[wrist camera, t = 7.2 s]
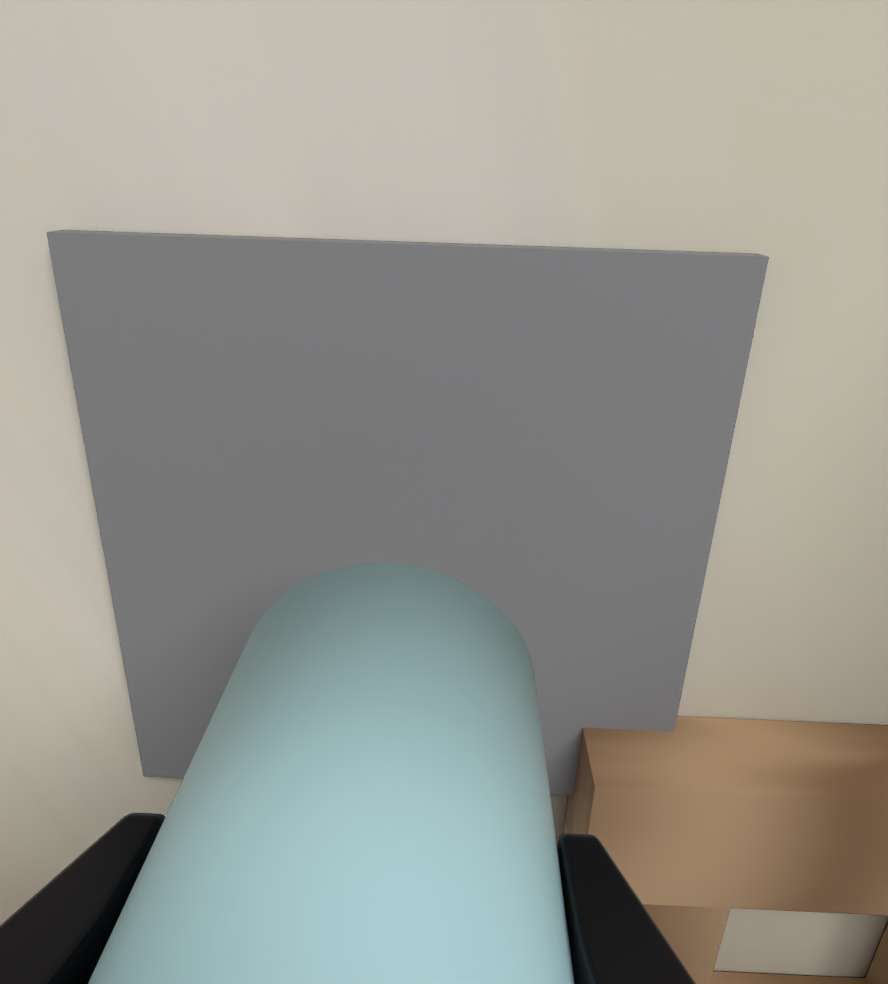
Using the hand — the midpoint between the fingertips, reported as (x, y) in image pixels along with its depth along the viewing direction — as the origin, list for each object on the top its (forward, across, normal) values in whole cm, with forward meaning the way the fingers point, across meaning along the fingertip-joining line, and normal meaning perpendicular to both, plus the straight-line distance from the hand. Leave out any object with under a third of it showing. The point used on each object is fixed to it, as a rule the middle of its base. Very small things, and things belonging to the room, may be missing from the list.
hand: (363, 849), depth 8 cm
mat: (+7, 0, 0) cm, 7 cm away
